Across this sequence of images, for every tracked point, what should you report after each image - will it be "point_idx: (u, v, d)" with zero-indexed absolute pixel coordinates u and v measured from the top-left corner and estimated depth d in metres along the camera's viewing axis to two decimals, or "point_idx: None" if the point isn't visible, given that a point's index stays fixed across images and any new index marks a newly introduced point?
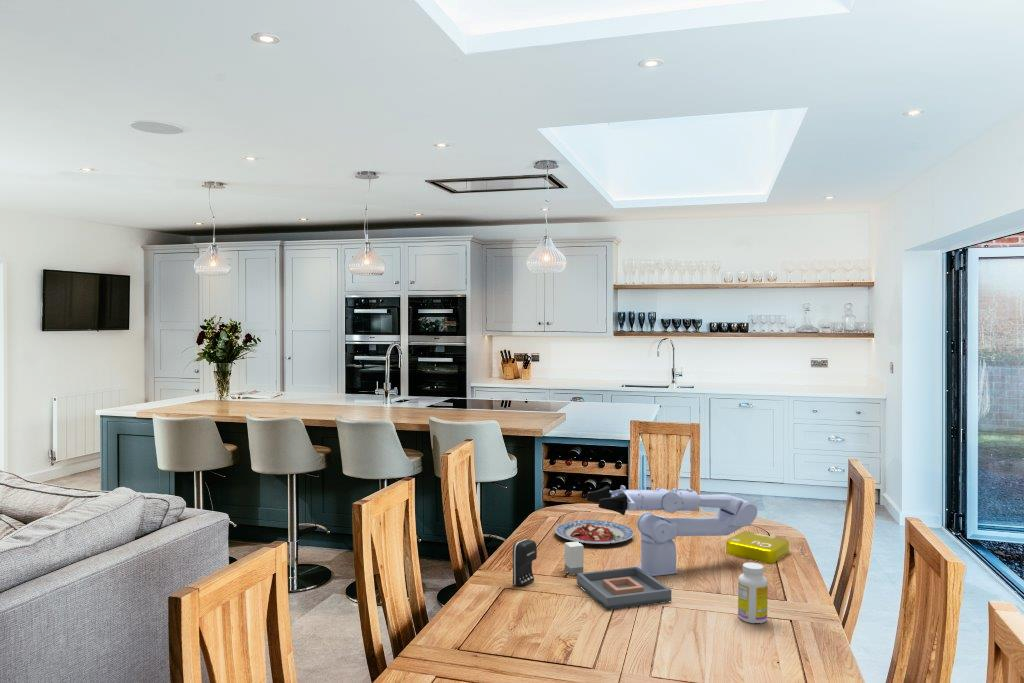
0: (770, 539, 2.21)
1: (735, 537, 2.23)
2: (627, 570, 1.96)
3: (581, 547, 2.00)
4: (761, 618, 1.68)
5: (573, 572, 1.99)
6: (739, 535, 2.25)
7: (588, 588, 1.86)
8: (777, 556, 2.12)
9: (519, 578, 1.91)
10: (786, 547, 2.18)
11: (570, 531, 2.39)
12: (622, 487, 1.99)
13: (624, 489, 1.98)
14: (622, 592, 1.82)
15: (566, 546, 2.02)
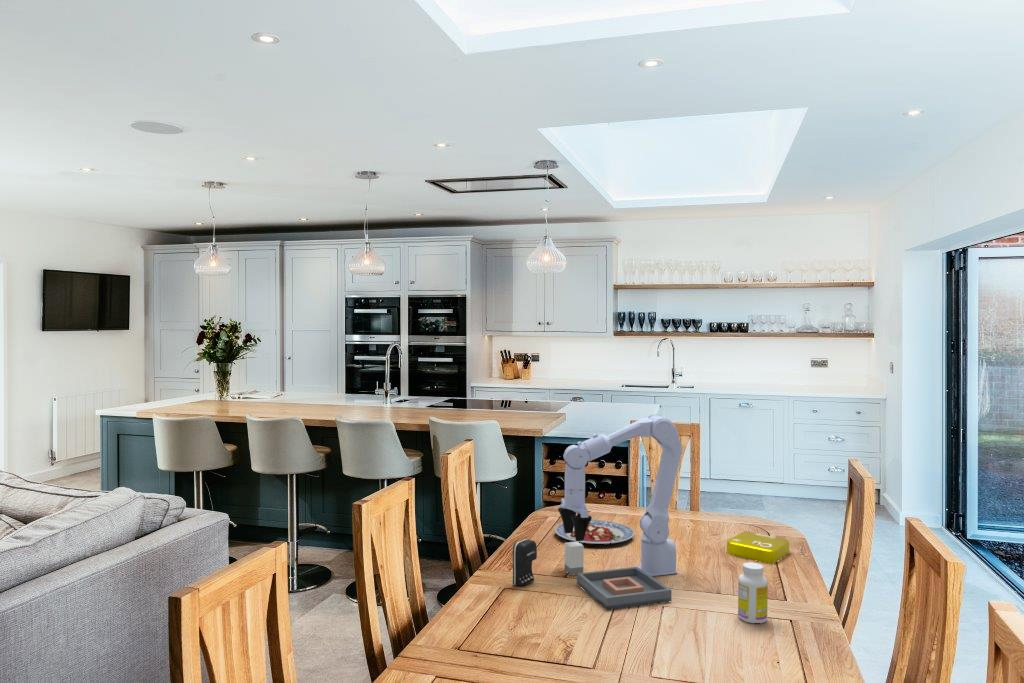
0: (771, 539, 2.21)
1: (736, 537, 2.23)
2: (627, 570, 1.96)
3: (581, 547, 2.00)
4: (761, 618, 1.68)
5: (573, 572, 1.99)
6: (740, 535, 2.25)
7: (588, 588, 1.86)
8: (777, 556, 2.12)
9: (519, 578, 1.91)
10: (786, 547, 2.18)
11: None
12: None
13: (565, 507, 1.99)
14: (622, 592, 1.82)
15: (566, 546, 2.02)
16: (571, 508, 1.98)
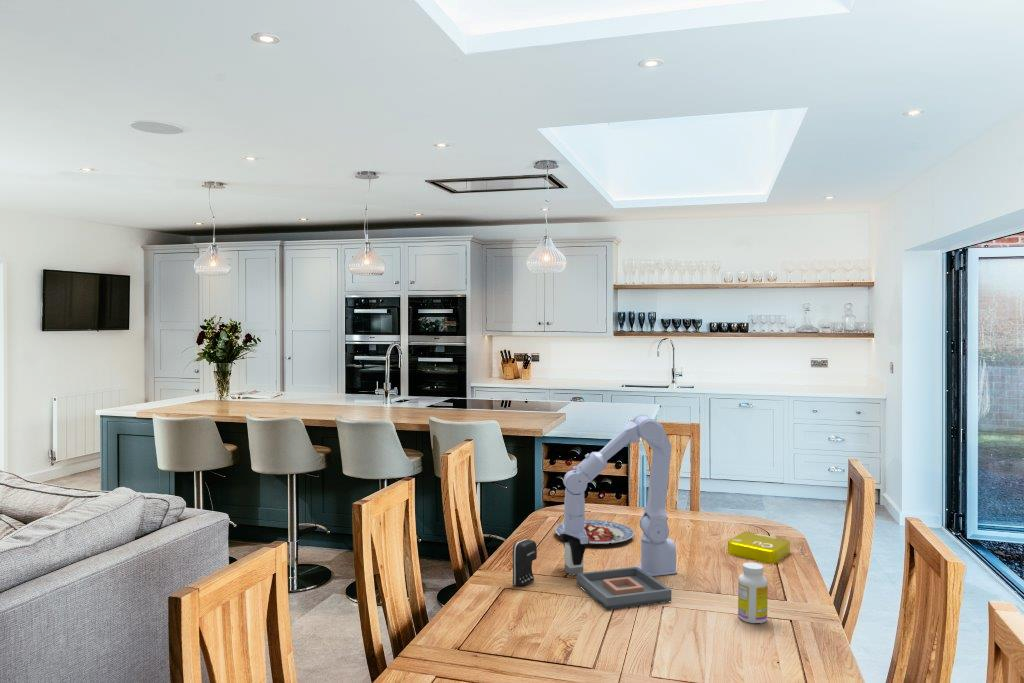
0: (771, 539, 2.21)
1: (736, 537, 2.22)
2: (627, 570, 1.96)
3: None
4: (761, 618, 1.68)
5: (573, 572, 1.99)
6: (740, 535, 2.25)
7: (588, 588, 1.86)
8: (778, 556, 2.12)
9: (519, 578, 1.91)
10: (787, 548, 2.18)
11: None
12: None
13: (565, 532, 1.99)
14: (622, 592, 1.82)
15: (566, 546, 2.02)
16: (571, 534, 1.98)
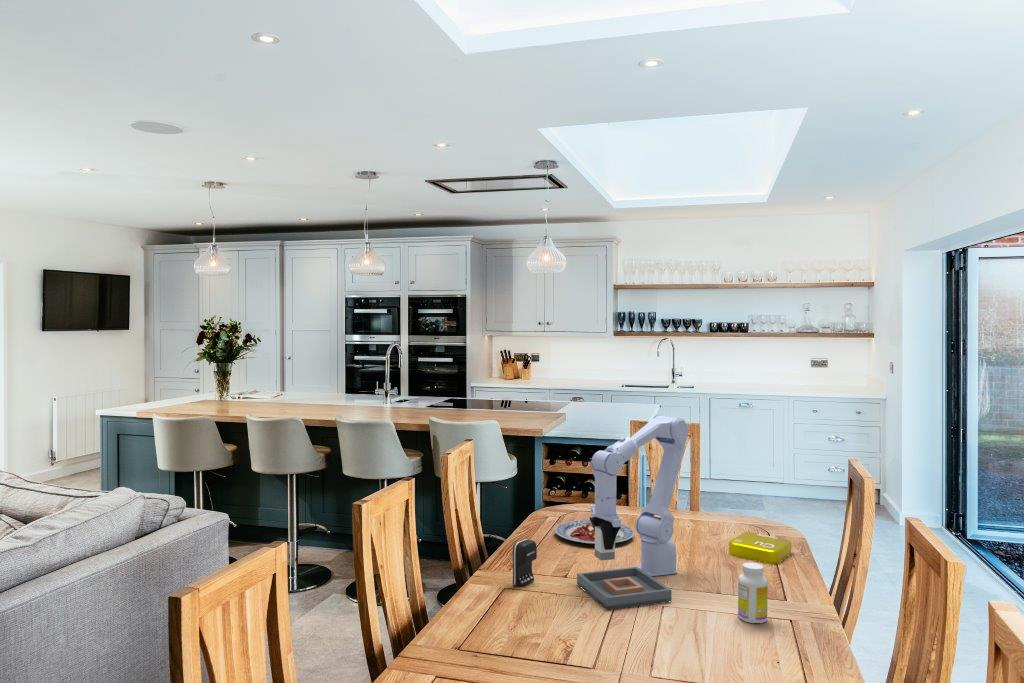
0: (773, 540, 2.20)
1: (738, 538, 2.22)
2: (627, 570, 1.96)
3: None
4: (761, 618, 1.68)
5: (604, 557, 1.89)
6: (741, 536, 2.24)
7: (588, 588, 1.86)
8: (780, 557, 2.12)
9: (519, 578, 1.91)
10: (788, 548, 2.17)
11: (570, 531, 2.39)
12: None
13: (595, 515, 1.89)
14: (622, 592, 1.82)
15: (596, 530, 1.92)
16: (602, 517, 1.88)
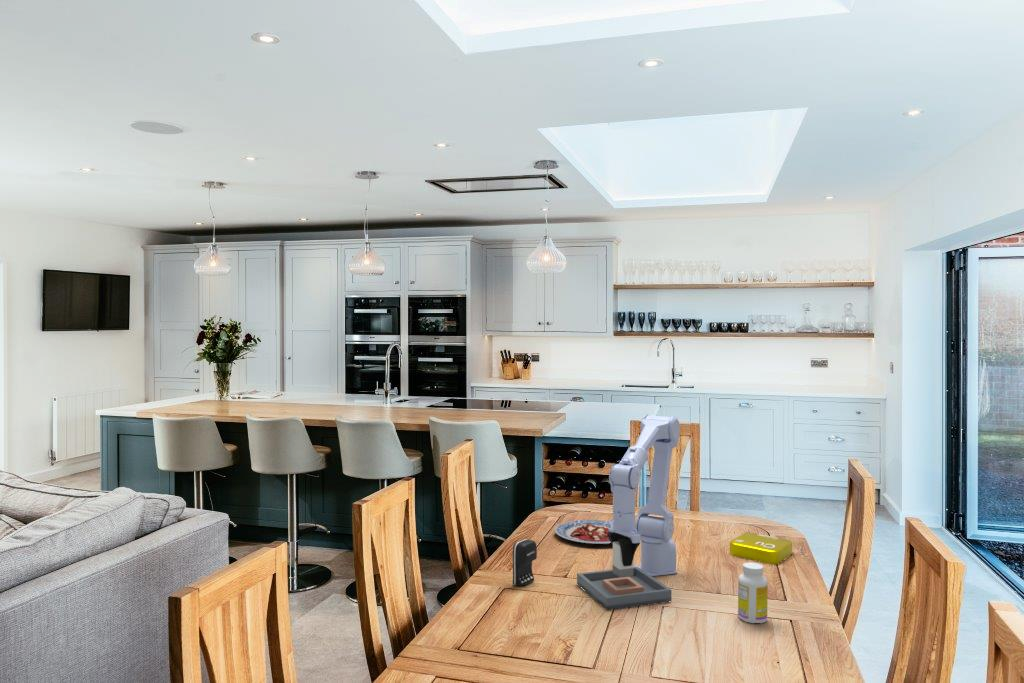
0: (773, 540, 2.20)
1: (738, 538, 2.22)
2: None
3: None
4: (761, 618, 1.68)
5: (622, 574, 1.84)
6: (742, 536, 2.24)
7: (588, 588, 1.86)
8: (780, 557, 2.11)
9: (519, 578, 1.91)
10: (789, 548, 2.17)
11: (570, 531, 2.39)
12: None
13: (614, 531, 1.84)
14: (622, 592, 1.82)
15: (614, 545, 1.86)
16: (621, 532, 1.83)
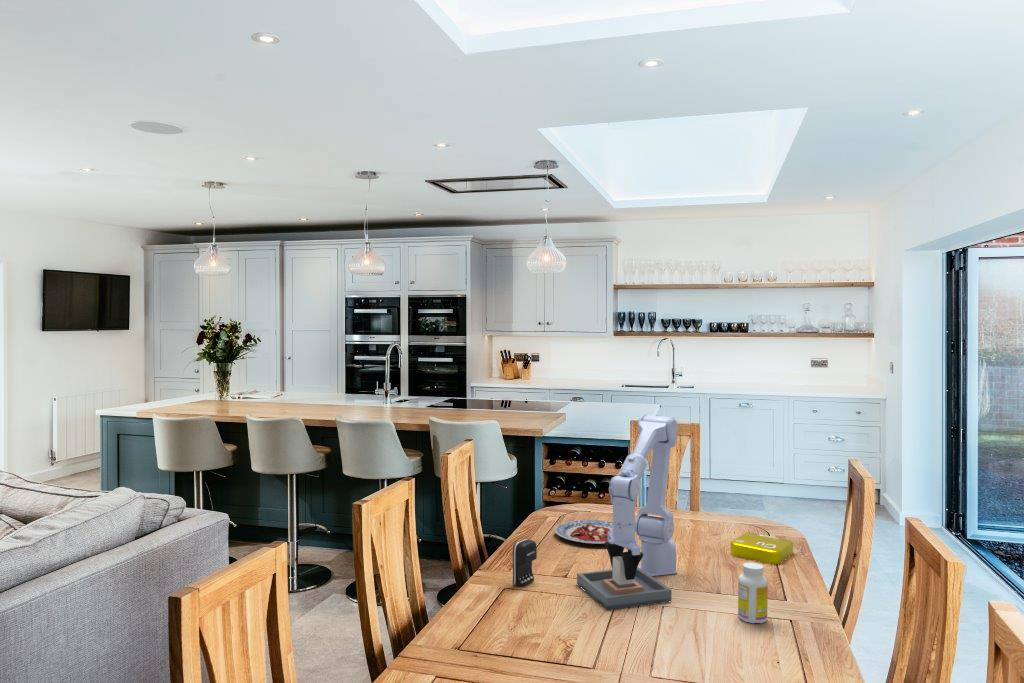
0: (774, 540, 2.20)
1: (739, 538, 2.22)
2: None
3: None
4: (761, 618, 1.68)
5: None
6: (743, 536, 2.24)
7: (588, 588, 1.86)
8: (781, 557, 2.11)
9: (519, 578, 1.91)
10: (790, 548, 2.17)
11: (570, 531, 2.39)
12: None
13: (614, 543, 1.84)
14: (622, 592, 1.82)
15: (614, 561, 1.86)
16: (621, 544, 1.83)
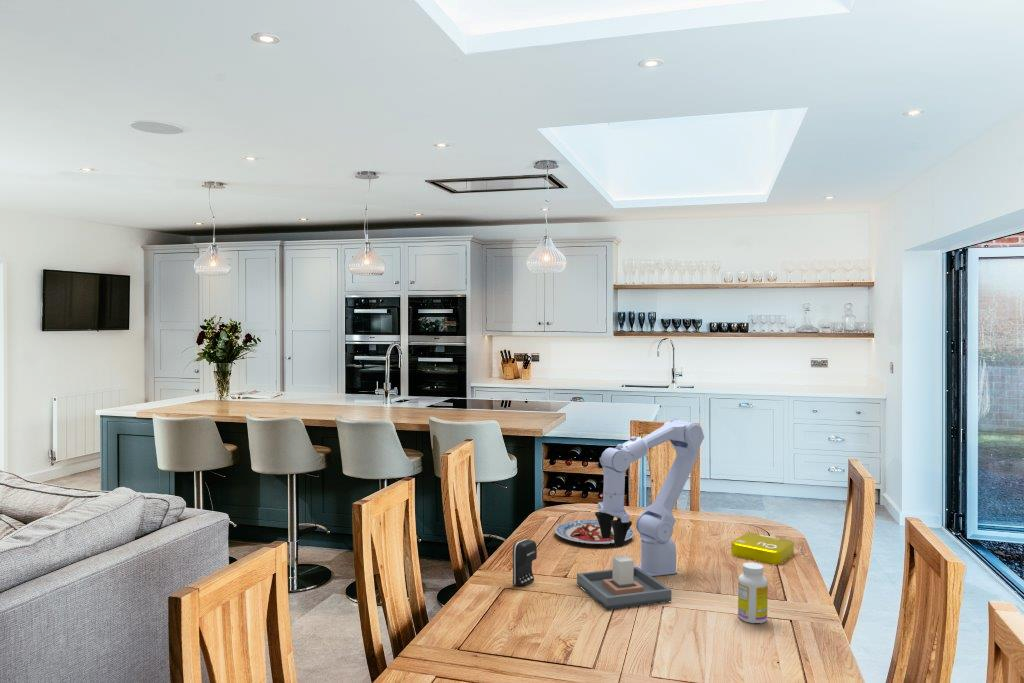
0: (775, 540, 2.20)
1: (740, 538, 2.21)
2: None
3: (631, 562, 1.85)
4: (761, 618, 1.68)
5: None
6: (744, 536, 2.24)
7: (588, 588, 1.86)
8: (782, 557, 2.11)
9: (519, 578, 1.91)
10: (791, 548, 2.17)
11: (570, 531, 2.39)
12: None
13: (604, 511, 1.94)
14: (622, 592, 1.82)
15: (614, 561, 1.86)
16: (611, 512, 1.92)
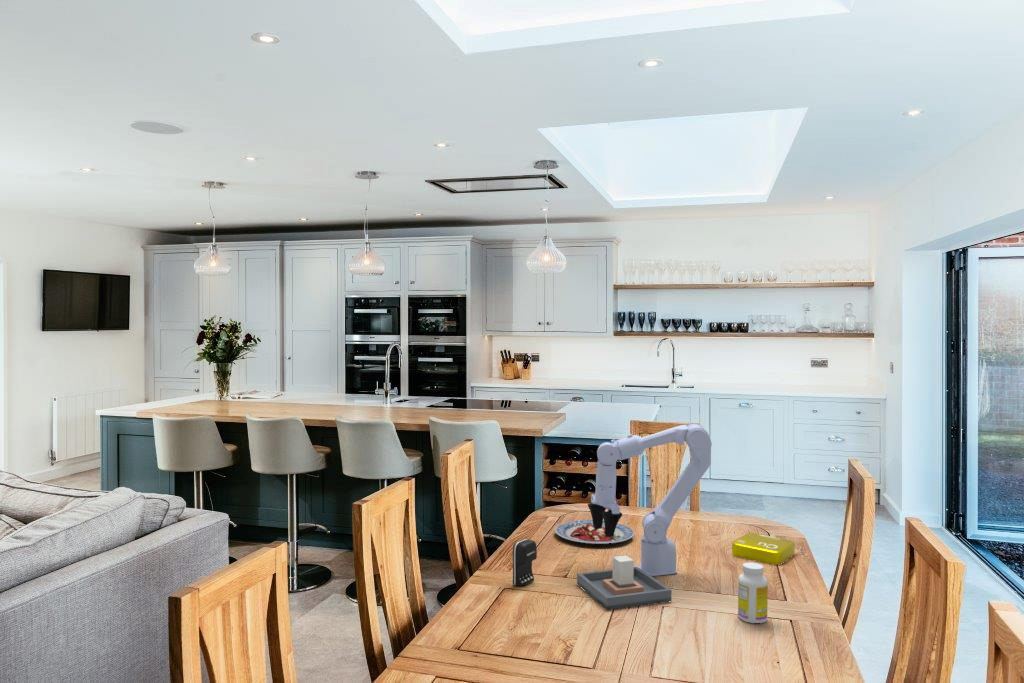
0: (776, 540, 2.20)
1: (741, 539, 2.21)
2: None
3: (631, 562, 1.85)
4: (761, 618, 1.68)
5: None
6: (744, 536, 2.23)
7: (588, 588, 1.86)
8: (783, 558, 2.11)
9: (519, 578, 1.91)
10: (792, 549, 2.17)
11: (570, 531, 2.39)
12: None
13: (596, 503, 2.02)
14: (622, 592, 1.82)
15: (614, 561, 1.86)
16: (602, 504, 2.01)
